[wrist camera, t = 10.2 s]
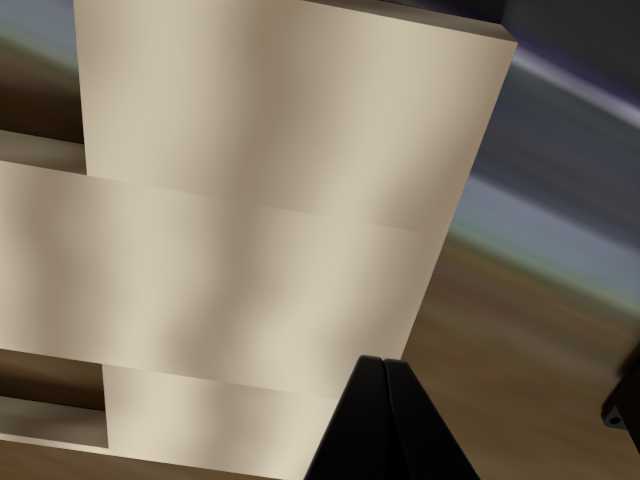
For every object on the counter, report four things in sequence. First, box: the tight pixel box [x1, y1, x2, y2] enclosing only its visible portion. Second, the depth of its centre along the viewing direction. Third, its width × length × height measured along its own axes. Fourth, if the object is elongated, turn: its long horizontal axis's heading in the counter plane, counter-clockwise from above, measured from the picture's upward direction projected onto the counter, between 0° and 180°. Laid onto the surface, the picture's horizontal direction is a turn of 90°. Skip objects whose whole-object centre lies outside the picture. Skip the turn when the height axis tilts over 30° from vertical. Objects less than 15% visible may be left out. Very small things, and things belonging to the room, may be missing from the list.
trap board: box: [0, 0, 518, 480], centre depth 20 cm, size 28×22×4 cm
